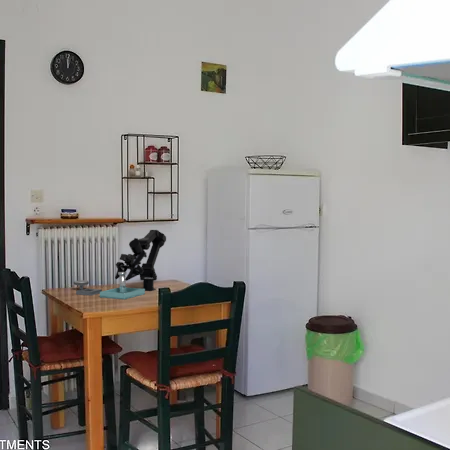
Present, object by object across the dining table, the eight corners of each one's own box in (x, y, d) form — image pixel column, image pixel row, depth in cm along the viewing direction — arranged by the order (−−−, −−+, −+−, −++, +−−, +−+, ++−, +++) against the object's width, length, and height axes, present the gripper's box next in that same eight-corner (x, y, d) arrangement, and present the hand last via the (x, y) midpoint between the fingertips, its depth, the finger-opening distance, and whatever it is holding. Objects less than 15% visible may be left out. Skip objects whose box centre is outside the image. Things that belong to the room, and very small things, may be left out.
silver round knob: (79, 288, 342) (79, 279, 341) (91, 289, 338) (91, 280, 338) (70, 290, 334) (70, 281, 334) (82, 291, 330) (82, 282, 330)
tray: (120, 292, 327) (120, 287, 327) (144, 294, 321) (144, 288, 321) (99, 297, 309) (99, 291, 309) (124, 299, 303) (124, 293, 303)
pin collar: (87, 291, 328) (87, 288, 328) (101, 293, 324) (101, 289, 324) (76, 294, 319) (76, 290, 319) (90, 295, 315) (90, 291, 315)
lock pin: (119, 293, 317) (119, 271, 317) (127, 293, 317) (127, 271, 317) (117, 294, 313) (117, 272, 313) (125, 294, 313) (125, 272, 312)
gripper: (118, 247, 323) (101, 268, 316) (138, 249, 311) (122, 271, 303) (129, 260, 329) (113, 281, 322) (150, 263, 317) (134, 284, 309)
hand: (120, 279), depth 314 cm, fingers open, 9 cm apart
